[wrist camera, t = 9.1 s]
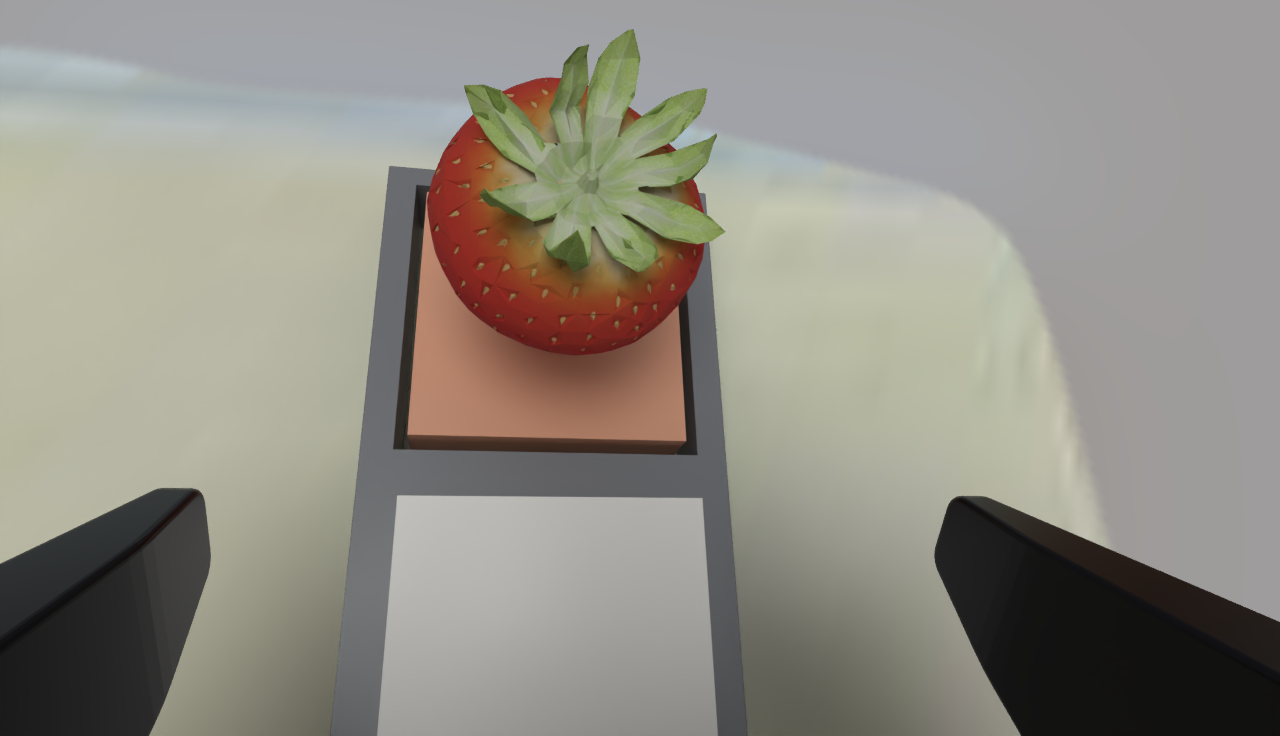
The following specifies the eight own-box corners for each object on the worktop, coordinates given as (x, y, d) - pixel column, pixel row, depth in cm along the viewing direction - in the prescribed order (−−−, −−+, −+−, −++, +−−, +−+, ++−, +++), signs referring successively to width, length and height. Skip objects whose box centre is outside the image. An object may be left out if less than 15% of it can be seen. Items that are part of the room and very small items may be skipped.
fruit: (517, 464, 17) (548, 307, 10) (396, 281, 18) (344, 21, 11) (692, 355, 19) (824, 158, 12) (573, 195, 20) (627, -75, 13)
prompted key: (667, 463, 20) (686, 441, 18) (413, 458, 19) (406, 434, 17) (657, 250, 23) (672, 212, 21) (431, 233, 21) (427, 192, 20)
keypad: (753, 1240, 15) (821, 1376, 12) (287, 1326, 13) (234, 1507, 10) (687, 231, 23) (717, 166, 20) (396, 209, 22) (384, 135, 19)
